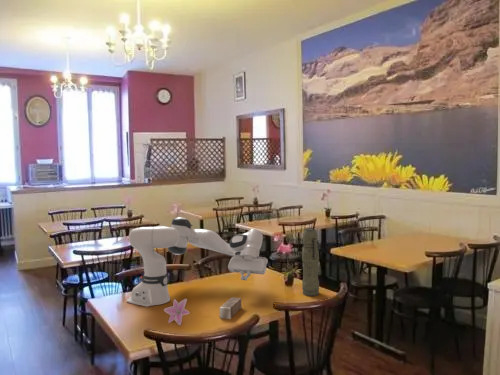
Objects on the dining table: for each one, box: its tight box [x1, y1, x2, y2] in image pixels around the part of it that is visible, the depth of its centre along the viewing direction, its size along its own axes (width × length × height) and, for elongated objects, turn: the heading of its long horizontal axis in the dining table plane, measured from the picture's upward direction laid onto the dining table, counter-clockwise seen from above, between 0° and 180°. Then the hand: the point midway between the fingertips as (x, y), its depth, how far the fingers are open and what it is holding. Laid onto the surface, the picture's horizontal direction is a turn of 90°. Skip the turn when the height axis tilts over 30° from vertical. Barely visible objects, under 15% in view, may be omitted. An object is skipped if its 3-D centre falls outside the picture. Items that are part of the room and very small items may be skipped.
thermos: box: [301, 227, 320, 297], centre depth 232 cm, size 9×12×35 cm
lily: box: [163, 298, 191, 326], centre depth 199 cm, size 12×12×10 cm
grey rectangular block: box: [219, 296, 242, 320], centre depth 207 cm, size 5×5×15 cm
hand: (243, 279), depth 223 cm, fingers closed
